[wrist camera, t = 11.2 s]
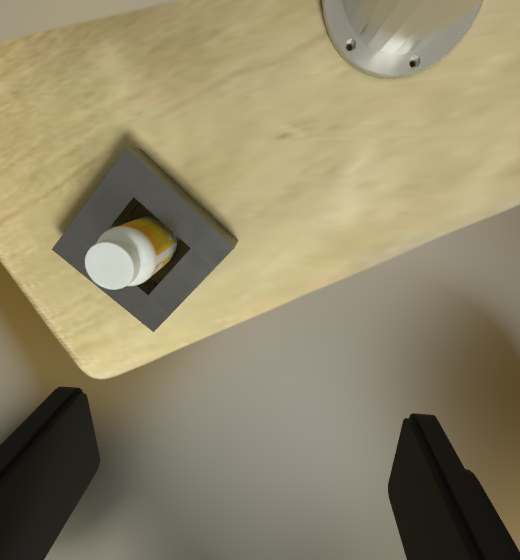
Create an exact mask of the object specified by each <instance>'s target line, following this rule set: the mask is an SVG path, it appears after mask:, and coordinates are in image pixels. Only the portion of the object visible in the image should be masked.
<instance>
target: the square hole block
mask: <svg viewBox="0 0 520 560" xmlns="http://www.w3.org/2000/svg"><path fill="white" fill-rule="evenodd" d="M139 202H140V203H141V204H142V205H143V206H144V207H145V208H146V209H148V210H149V211H150V212H151V213H152V214H153V215H154V216H155V217H156V218H158V219H159V220H160V221H161V222H162V223H163V224H164V225H165V226H167V227H168V228H169V229H170V230H171V231H172V232H173V233H174V234H175V235H177V236H178V237H179V238H180V239H181V240H182V241H183V242H184V243H185V244H187V245H188V246H189V247H190V248H191V249H190V250H189V251H188V252H187V253H186V254H185V255H184V256H183V258H182V259H181V260H180V261H179V262H178V263H177V264H176V265H175V266H174V267H173V269H172V270H171V271H170V272H169V273H168V274H167V275H166V276H165V277H164V279H163V280H162V281H161V282H160V283H159V284H156V283H155V282H154V281H153V280H152V279H150V278H149V279H148V280H146V281H145V282H143V283H141V284H139V285H135V286H125V287H123V288H121V289H116V290H111V289H106V288H104V287H101V286H99V285H98V284H96V283H95V282H94V281H93V280H92V279H91V277H90V276H89V275H88V273H87V271H86V267H85V257H86V254H87V252H88V250H89V249H90V248H91V247H92V246H93V245H95V244H96V243H97V241H98V239H99V238H100V236H101V235H102V234H103V233H104V232H106V231H107V230H109V229H111V228H114V227H117V226H119V225H122V224H123V222H124V221H125V220H126V219H127V217H128V216H129V215H130V214H131V212H132V211H133V210H134V209H135V207H136V206H137V205H138V204H139ZM237 242H238V240H237V239H235V238H234V237H233V236H232V235H231V234H230V233H229V232H228V231H227V230H226V229H225V228H224V227H223V226H222V225H221V224H219V223H218V222H217V221H216V220H215V219H214V218H213V217H212V216H211V215H210V214H209V213H208V212H207V211H206V210H204V209H203V208H202V207H201V206H200V205H199V204H198V203H197V202H196V201H195V200H194V199H193V198H192V197H191V196H190V195H188V194H187V193H186V192H185V191H184V190H183V189H182V188H181V187H180V186H179V185H178V184H177V183H176V182H175V181H174V180H172V179H171V178H170V177H169V176H168V175H167V174H166V173H165V172H164V171H163V170H162V169H161V168H160V167H159V166H157V165H156V164H155V163H154V162H153V161H152V160H151V159H150V158H149V157H148V156H147V155H146V154H145V153H144V152H143V151H141V150H140V149H133V148H126V149H125V150H124V152H123V153H122V154H121V156H120V157H119V158H118V160H117V161H116V163H115V164H114V165H113V167H112V168H111V169H110V171H109V172H108V173H107V175H106V176H105V178H104V179H103V180H102V182H101V183H100V184H99V186H98V187H97V188H96V190H95V191H94V193H93V194H92V195H91V197H90V198H89V199H88V201H87V202H86V203H85V205H84V206H83V208H82V209H81V210H80V212H79V213H78V214H77V216H76V217H75V218H74V220H73V221H72V223H71V224H70V225H69V227H68V228H67V229H66V231H65V232H64V234H63V235H62V236H61V238H60V239H59V240H58V242H57V243H56V244H55V246H54V247H53V249H52V250H53V251H54V252H56V253H57V254H58V255H59V256H61V257H62V258H63V259H64V260H66V261H67V262H68V263H69V264H70V265H72V266H73V267H74V268H75V269H77V270H78V271H79V272H80V273H82V274H83V275H84V276H85V277H86V278H88V279H89V280H90V281H91V282H93V283H94V284H95V285H96V286H98V287H99V288H100V289H101V290H102V291H104V292H105V293H106V294H107V295H109V296H110V297H111V298H112V299H114V300H115V301H116V302H117V303H118V304H120V305H121V306H122V307H123V308H125V309H126V310H127V311H128V312H130V313H131V314H132V315H133V316H134V317H136V318H137V319H138V320H139V321H141V322H142V323H143V324H144V325H146V326H147V327H148V328H149V329H150V330H152V331H153V332H154V331H155V330H156V329H157V328H158V327H159V326H160V325H161V324H162V323H163V322H164V321H165V320H166V319H167V318H168V317H169V315H170V314H171V313H172V312H173V311H174V310H175V309H176V308H177V307H178V306H179V305H180V304H181V303H182V302H183V301H184V300H185V299H186V298H187V297H188V296H189V295H190V294H191V293H192V291H193V290H194V289H195V288H196V287H197V286H198V285H199V284H200V283H201V282H202V281H203V280H204V279H205V278H206V277H207V276H208V275H209V274H210V273H211V272H212V271H213V270H214V269H215V267H216V266H217V265H218V264H219V263H220V262H221V261H222V260H223V259H224V258H225V257H226V256H227V255H228V254H229V253H230V252H231V251H232V250H233V249H234V247H235V246H236V244H237Z"/></svg>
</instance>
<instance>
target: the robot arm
mask: <svg viewBox="0 0 520 560" xmlns="http://www.w3.org/2000/svg"><path fill="white" fill-rule="evenodd" d="M482 3H483V0H322V8H323V17H324V21H325V25H326V28H327V32H328V35H329V37H330V39H331V41H332V43H333V45H334V47H335V48H336V50H337V51H338V52H339V54H340V55H341V56H342V57H343V59H344V60H345V61H347V62H348V63H349V64H350V65H351V66H352V67H354V68H355V69H357V70H359V71H361V72H362V73H364V74H366V75H369V76H373V77H377V78H383V79H397V78H402V77H408V76H411V75H414V74H416V73H419V72H421V71H424V70H425V69H427V68H429V67H430V66H432V65H434V64H435V63H437V62H438V61H439V60H441V59H442V58H443V57H445V56H446V55H448V54H449V53H450V52H451V51H452V50H453V49H454V48H455V47H456V45H457V44H458V43H459V42H460V41H461V40H462V39H463V37H464V36H465V34H466V33H467V32H468V30H469V29H470V28H471V26H472V24H473V22H474V20H475V18H476V16H477V15H478V13H479V11H480V9H481V6H482ZM347 45H350V46H351V47H352V50H350V51H348V50H347V49H346V46H347ZM410 62H413V63H414V66H413V67H410V64H409V63H410ZM99 463H100V456H99V451H98V446H97V441H96V437H95V432H94V427H93V422H92V418H91V413H90V408H89V403H88V398H87V395H86V394H83V392H82V390H81V389H80V388H72V387H58V388H57V389H55V390H54V391H53V392H52V393H51V394H50V395H49V397H47V399H46V400H45V401H44V402H43V403H42V404H41V405H40V406H39V407H38V408H37V409H36V410H35V411H34V412H33V413H32V414H31V415H30V416H29V417H28V418H27V419H26V420H25V421H24V422H23V423H22V424H21V425H20V426H19V427H18V428H17V429H16V430H15V431H14V432H13V433H12V434H11V435H10V436H9V437H8V438H7V439H6V440H5V441H4V442H3V444H1V446H0V560H44V559H45V557H46V555H47V554H48V552H49V550H50V549H51V547H52V545H53V544H54V542H55V540H56V539H57V537H58V535H59V533H60V532H61V530H62V529H63V527H64V525H65V523H66V522H67V520H68V518H69V517H70V515H71V513H72V512H73V510H74V509H75V507H76V505H77V503H78V502H79V500H80V499H81V497H82V495H83V493H84V492H85V490H86V489H87V487H88V485H89V483H90V482H91V480H92V478H93V477H94V475H95V473H96V472H97V470H98V467H99ZM388 494H389V499H390V503H391V506H392V509H393V513H394V516H395V520H396V523H397V527H398V530H399V534H400V537H401V541H402V544H403V547H404V551H405V554H406V558H407V560H520V552H519V550H518V548H517V547H516V545H515V543H514V541H513V540H512V538H511V536H510V534H509V533H508V531H507V529H506V527H505V526H504V524H503V522H502V520H501V519H500V517H499V515H498V513H497V512H496V510H495V508H494V507H493V505H492V503H491V501H490V500H489V498H488V496H487V494H486V493H485V491H484V489H483V487H482V486H481V484H480V482H479V481H478V479H477V478H476V476H475V475H474V474H473V473H472V472H471V471H470V470H466V469H465V468H464V466H463V465H462V463H461V461H460V459H459V458H458V456H457V454H456V452H455V450H454V449H453V447H452V445H451V443H450V441H449V439H448V438H447V436H446V434H445V432H444V431H443V429H442V427H441V425H440V423H439V421H438V420H437V418H436V417H435V416H434V415H425V414H411V415H410V417H409V419H407V418H405V419H404V420H403V424H402V428H401V432H400V437H399V441H398V445H397V450H396V454H395V458H394V462H393V466H392V471H391V475H390V479H389V483H388Z"/></svg>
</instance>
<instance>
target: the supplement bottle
mask: <svg viewBox="0 0 520 560" xmlns="http://www.w3.org/2000/svg"><path fill="white" fill-rule="evenodd" d="M176 249H177V239H176V235H175V234H174V233H173V232H172V231H171V230H170V229H169V228H168V227H167V226H165V225H164V224H163V223H162V222H161V221H160V220H159V219H158V218H156V217H152V216H146V217H142V218H139V219H136V220H133V221H130V222H128V223H125V224H122V225H119V226H117V227H114V228H111V229H109V230H107V231H106V232H104V233H103V234H102V235H101V236H100V238H99V239H98V241H97V243H96V244H95V245H93V246H92V247H91V248H90V249H89V250H88V252H87V254H86V257H85V267H86V271H87V273H88V275H89V276H90V277H91V279H92V280H93V281H94V282H95V283H96V284H98V285H99V286H101V287H104V288H106V289H111V290H116V289H121V288H123V287H125V286H135V285H139V284H141V283H143V282H145V281H146V280H148V279H149V278H150V277H151V276H152V275H154V274H155V273H156V272H157V271H158V270H160V269H161V268H162V267H163V266H164V265H166V264H167V263H168V262H169V261H170V260H171V259H172V258H173V256H174V255H175V253H176Z"/></svg>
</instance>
